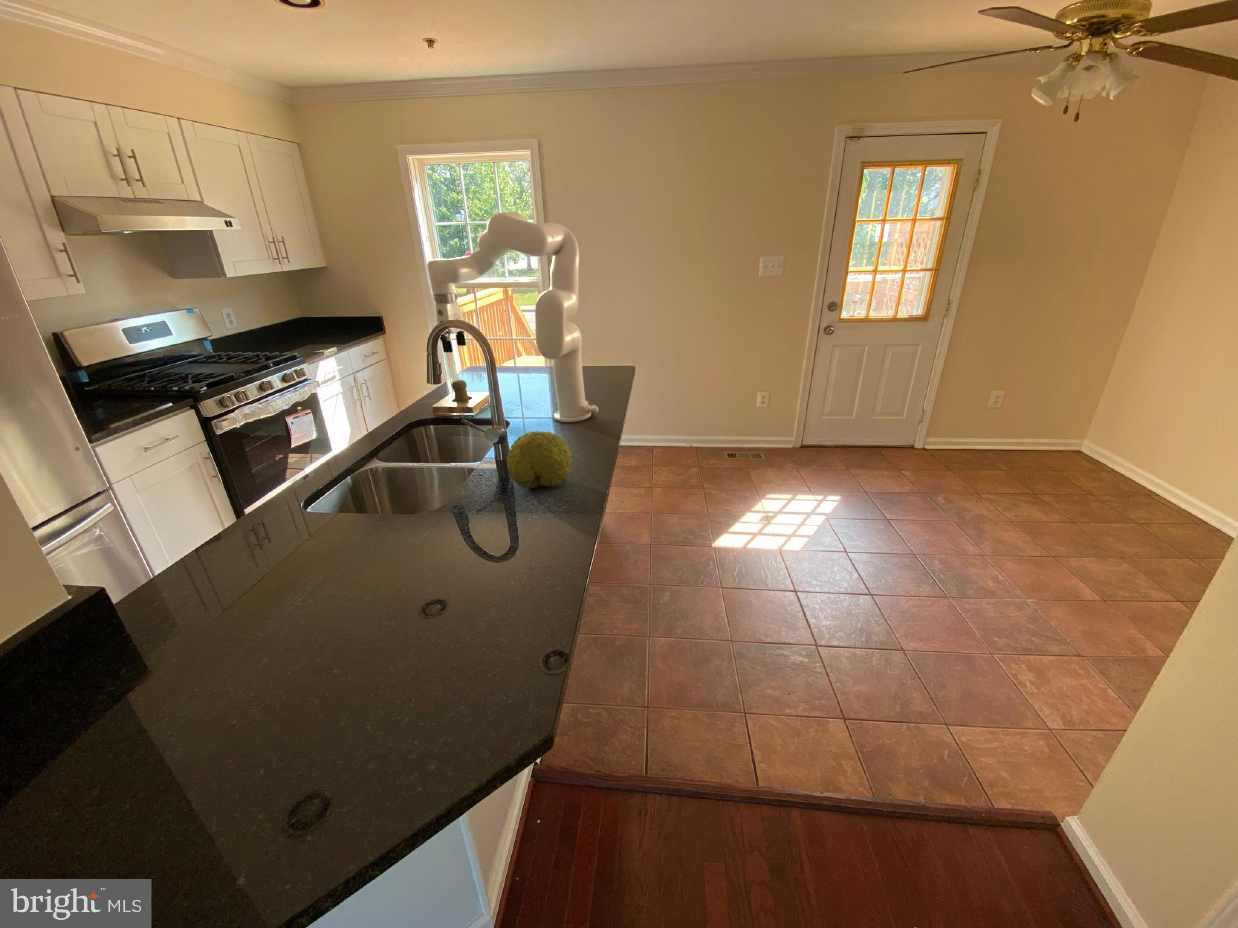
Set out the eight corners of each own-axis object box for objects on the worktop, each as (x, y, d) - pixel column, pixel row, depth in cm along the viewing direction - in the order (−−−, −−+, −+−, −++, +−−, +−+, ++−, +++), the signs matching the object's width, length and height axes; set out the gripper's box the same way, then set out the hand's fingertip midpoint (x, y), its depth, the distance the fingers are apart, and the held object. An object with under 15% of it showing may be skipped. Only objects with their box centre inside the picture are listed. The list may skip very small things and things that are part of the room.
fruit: (520, 506, 118) (490, 449, 116) (526, 497, 132) (500, 446, 131) (581, 475, 119) (553, 418, 117) (581, 470, 133) (555, 419, 131)
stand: (493, 402, 191) (491, 392, 189) (474, 417, 177) (472, 406, 175) (455, 402, 194) (453, 392, 192) (433, 416, 180) (431, 406, 178)
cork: (462, 413, 182) (456, 384, 177) (452, 410, 185) (446, 382, 180) (475, 408, 186) (470, 379, 181) (465, 405, 189) (459, 377, 184)
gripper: (442, 302, 160) (452, 355, 168) (467, 294, 175) (476, 343, 183) (421, 302, 162) (432, 355, 169) (448, 295, 177) (457, 343, 185)
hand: (455, 348), depth 176 cm, fingers open, 9 cm apart
